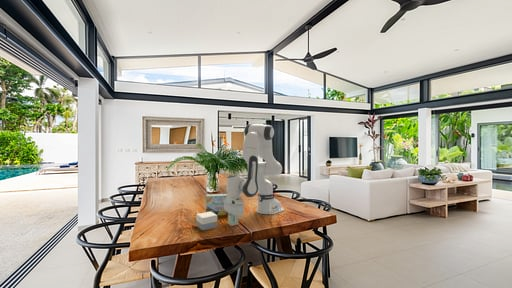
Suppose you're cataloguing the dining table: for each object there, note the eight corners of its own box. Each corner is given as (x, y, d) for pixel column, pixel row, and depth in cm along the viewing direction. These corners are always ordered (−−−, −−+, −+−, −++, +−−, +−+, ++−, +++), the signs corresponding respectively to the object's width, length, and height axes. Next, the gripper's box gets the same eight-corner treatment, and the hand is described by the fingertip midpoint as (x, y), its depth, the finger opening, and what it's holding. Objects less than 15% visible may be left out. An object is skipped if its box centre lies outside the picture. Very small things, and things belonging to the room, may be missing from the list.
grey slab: (210, 223, 160) (210, 217, 160) (217, 227, 152) (217, 221, 152) (196, 226, 154) (196, 220, 154) (202, 231, 146) (202, 224, 146)
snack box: (206, 216, 174) (206, 195, 174) (206, 214, 180) (206, 194, 180) (234, 214, 178) (234, 194, 178) (234, 212, 184) (234, 193, 184)
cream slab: (210, 217, 160) (210, 211, 160) (217, 221, 152) (217, 215, 152) (196, 220, 155) (196, 214, 155) (202, 224, 146) (202, 218, 146)
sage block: (234, 222, 161) (234, 213, 161) (238, 224, 157) (238, 215, 157) (227, 223, 158) (227, 214, 158) (231, 225, 154) (231, 216, 154)
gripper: (221, 197, 164) (221, 217, 164) (236, 203, 148) (236, 225, 148) (229, 195, 168) (229, 215, 168) (245, 201, 151) (245, 223, 151)
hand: (233, 220), depth 158 cm, fingers closed on sage block, 5 cm apart
